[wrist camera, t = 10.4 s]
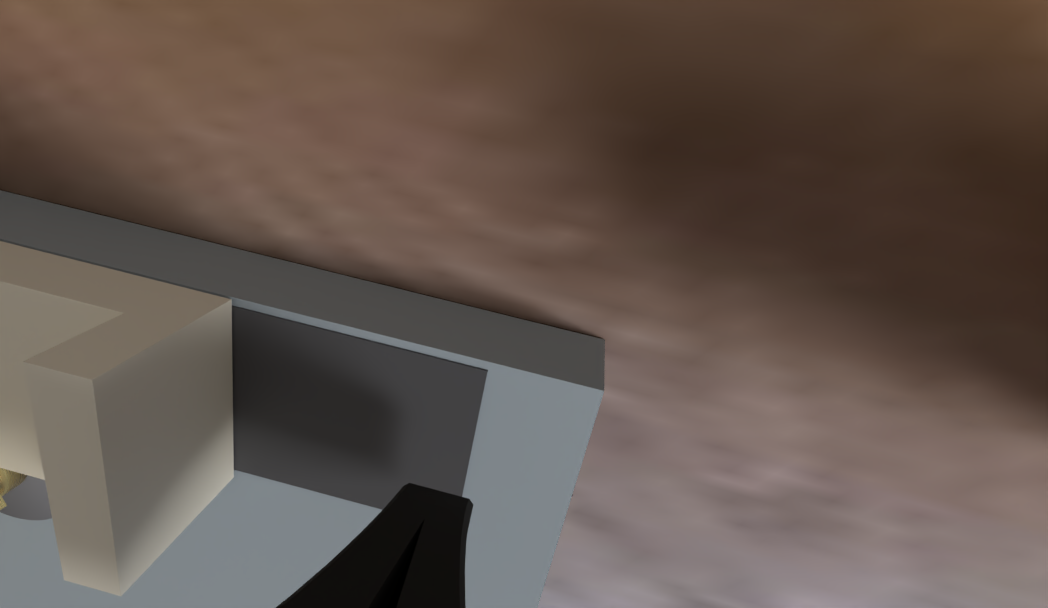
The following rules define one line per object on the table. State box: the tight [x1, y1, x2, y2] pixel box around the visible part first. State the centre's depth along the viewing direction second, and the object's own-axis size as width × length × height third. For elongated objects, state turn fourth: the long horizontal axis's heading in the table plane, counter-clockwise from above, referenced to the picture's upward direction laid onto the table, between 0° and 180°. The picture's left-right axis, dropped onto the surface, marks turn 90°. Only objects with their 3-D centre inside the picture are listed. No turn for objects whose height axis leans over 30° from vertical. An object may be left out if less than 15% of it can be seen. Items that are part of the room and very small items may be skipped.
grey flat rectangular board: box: [0, 190, 605, 608], centre depth 16 cm, size 15×19×3 cm
